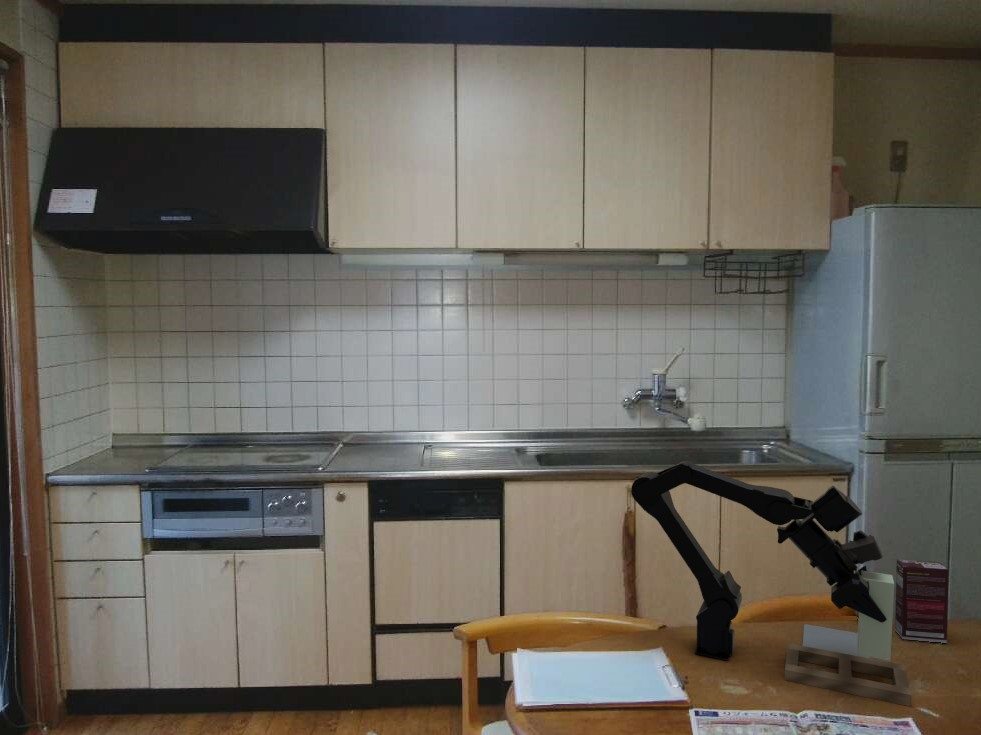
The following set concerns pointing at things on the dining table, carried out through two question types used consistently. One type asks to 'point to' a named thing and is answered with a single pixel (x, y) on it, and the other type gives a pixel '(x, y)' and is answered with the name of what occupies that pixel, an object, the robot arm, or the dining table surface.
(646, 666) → the dining table surface
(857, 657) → the puzzle board
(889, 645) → the sage block
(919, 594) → the supplement box
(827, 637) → the grey mat
